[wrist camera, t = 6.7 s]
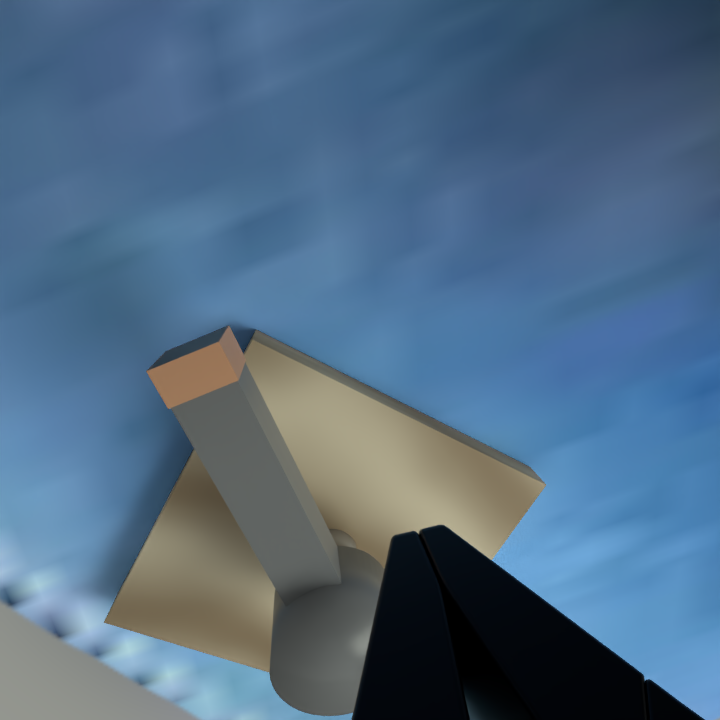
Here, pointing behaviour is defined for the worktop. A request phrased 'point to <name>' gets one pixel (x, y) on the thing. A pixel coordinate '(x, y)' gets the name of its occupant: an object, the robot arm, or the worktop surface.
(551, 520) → the worktop surface
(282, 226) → the worktop surface
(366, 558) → the grey elongated piece
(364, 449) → the stud base
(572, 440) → the worktop surface
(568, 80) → the worktop surface
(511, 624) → the robot arm
